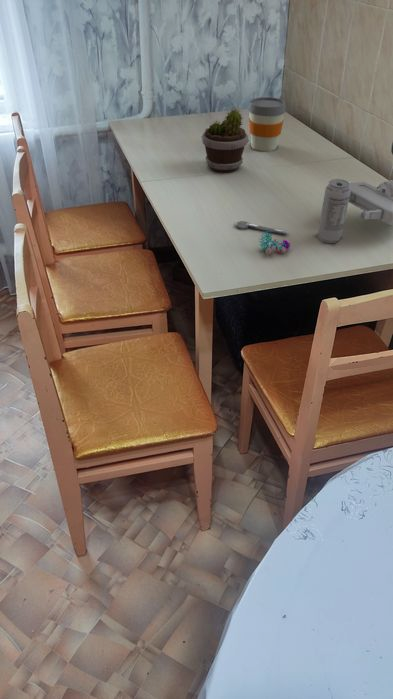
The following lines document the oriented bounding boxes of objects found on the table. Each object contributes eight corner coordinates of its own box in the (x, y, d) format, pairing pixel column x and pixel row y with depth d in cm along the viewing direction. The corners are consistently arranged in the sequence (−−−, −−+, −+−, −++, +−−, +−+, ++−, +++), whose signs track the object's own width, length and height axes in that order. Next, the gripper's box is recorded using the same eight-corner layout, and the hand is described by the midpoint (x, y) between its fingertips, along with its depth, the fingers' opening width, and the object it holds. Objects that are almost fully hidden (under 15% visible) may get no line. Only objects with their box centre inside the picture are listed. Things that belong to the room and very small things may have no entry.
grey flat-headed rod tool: (287, 231, 144) (288, 228, 143) (284, 237, 141) (284, 234, 141) (239, 222, 148) (239, 218, 147) (234, 227, 145) (234, 224, 145)
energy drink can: (338, 233, 143) (349, 178, 134) (342, 244, 139) (354, 188, 129) (315, 232, 143) (324, 177, 134) (319, 244, 139) (328, 187, 129)
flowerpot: (191, 166, 179) (191, 102, 166) (225, 155, 187) (228, 93, 174) (221, 179, 170) (224, 113, 158) (255, 167, 178) (260, 103, 165)
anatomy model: (294, 244, 129) (290, 227, 134) (261, 244, 129) (258, 228, 134) (291, 261, 133) (288, 244, 138) (259, 261, 133) (256, 245, 138)
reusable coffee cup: (264, 155, 187) (267, 109, 177) (239, 145, 194) (241, 101, 185) (288, 147, 193) (293, 102, 183) (263, 138, 200) (267, 94, 191)
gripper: (366, 172, 148) (326, 182, 143) (423, 200, 134) (381, 212, 129) (361, 194, 152) (322, 204, 147) (416, 223, 139) (375, 235, 133)
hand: (350, 208), depth 138 cm, fingers open, 8 cm apart
